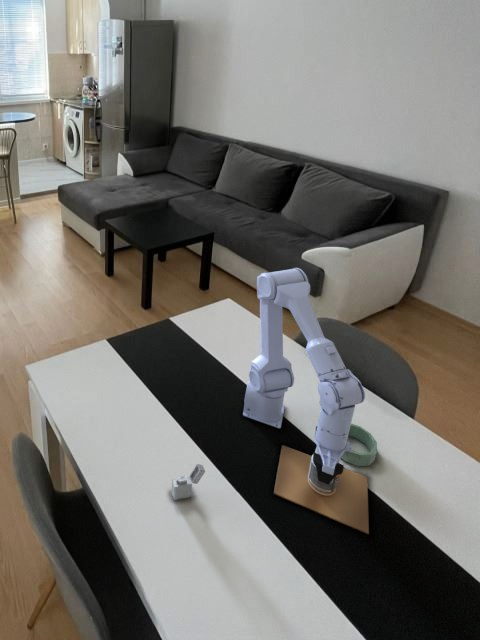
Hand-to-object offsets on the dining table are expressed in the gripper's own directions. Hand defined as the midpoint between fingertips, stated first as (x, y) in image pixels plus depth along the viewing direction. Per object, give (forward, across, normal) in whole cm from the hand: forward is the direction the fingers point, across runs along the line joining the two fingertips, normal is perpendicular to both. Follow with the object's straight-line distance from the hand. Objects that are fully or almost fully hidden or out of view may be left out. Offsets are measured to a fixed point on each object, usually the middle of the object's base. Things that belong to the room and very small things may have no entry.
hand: (324, 469), depth 95 cm
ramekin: (+5, +14, -6) cm, 16 cm away
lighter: (+5, -16, +26) cm, 31 cm away
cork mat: (+5, 0, 0) cm, 5 cm away
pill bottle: (+5, 0, 0) cm, 5 cm away
